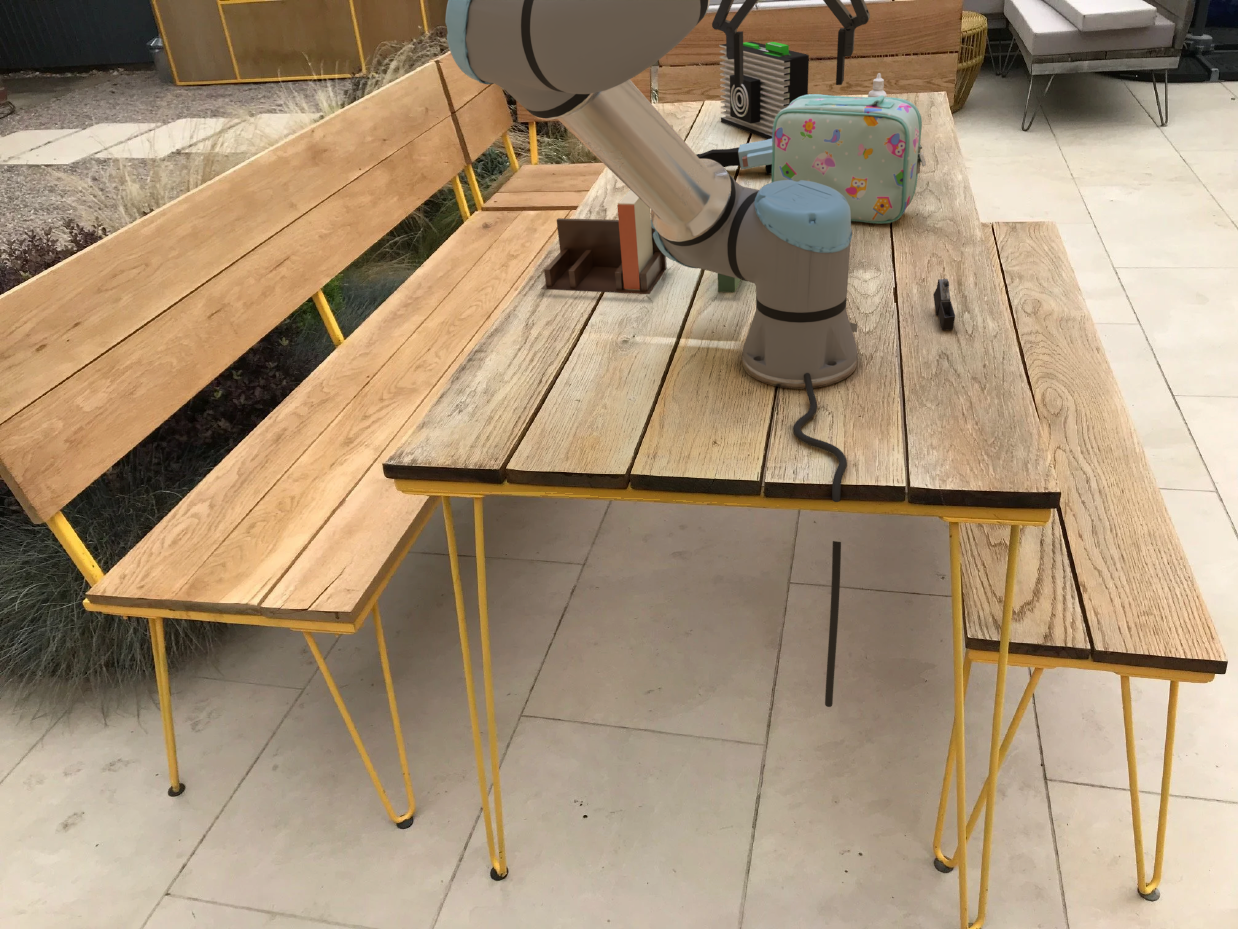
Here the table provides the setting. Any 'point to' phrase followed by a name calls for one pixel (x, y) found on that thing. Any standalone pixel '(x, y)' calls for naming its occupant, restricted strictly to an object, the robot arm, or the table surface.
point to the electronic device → (762, 86)
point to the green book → (727, 283)
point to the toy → (743, 155)
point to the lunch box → (852, 150)
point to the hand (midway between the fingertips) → (788, 83)
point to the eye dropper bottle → (877, 87)
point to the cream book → (634, 238)
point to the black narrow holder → (944, 305)
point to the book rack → (596, 259)
